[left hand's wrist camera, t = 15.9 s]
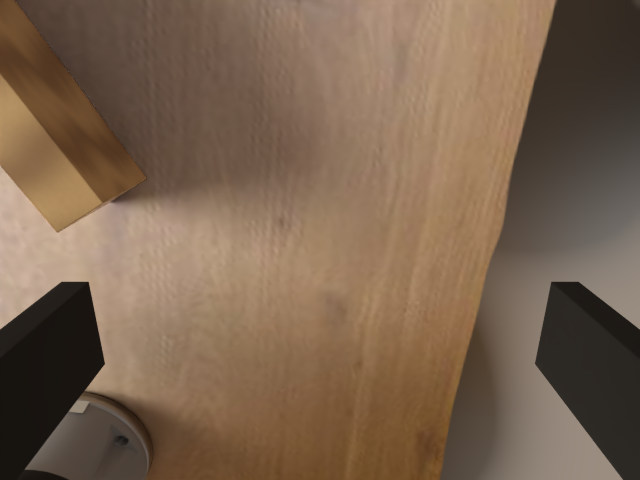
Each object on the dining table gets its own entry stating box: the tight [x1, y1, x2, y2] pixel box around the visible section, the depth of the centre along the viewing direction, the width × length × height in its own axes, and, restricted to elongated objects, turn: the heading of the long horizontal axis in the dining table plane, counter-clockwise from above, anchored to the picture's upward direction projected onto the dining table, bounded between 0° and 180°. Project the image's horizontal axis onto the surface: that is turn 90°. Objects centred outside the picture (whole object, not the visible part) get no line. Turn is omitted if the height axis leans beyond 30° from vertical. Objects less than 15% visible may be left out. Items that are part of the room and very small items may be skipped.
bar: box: [0, 0, 147, 232], centre depth 33 cm, size 22×4×9 cm, turn 31°
